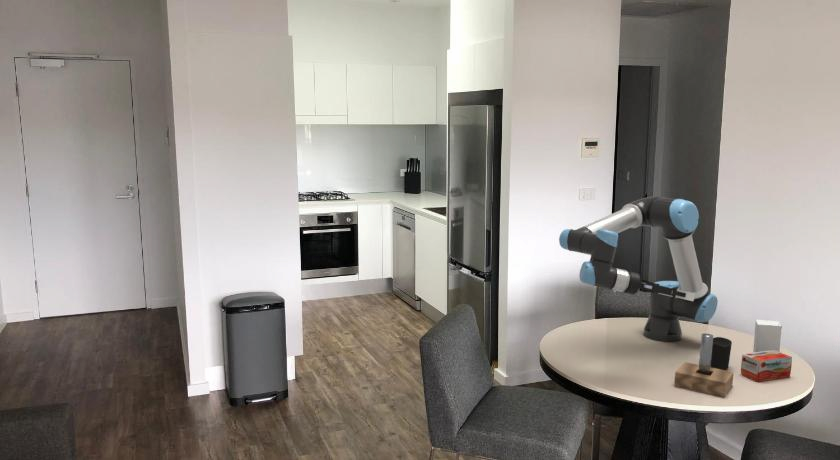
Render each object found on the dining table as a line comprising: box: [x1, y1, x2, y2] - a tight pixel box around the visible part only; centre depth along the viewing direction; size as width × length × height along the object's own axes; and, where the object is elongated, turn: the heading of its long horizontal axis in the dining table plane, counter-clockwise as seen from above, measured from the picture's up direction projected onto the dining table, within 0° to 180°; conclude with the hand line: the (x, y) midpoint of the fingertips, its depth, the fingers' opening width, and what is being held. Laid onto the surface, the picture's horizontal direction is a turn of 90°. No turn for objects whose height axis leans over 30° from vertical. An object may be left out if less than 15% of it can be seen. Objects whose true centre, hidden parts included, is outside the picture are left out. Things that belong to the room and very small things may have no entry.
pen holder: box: [711, 336, 733, 371], centre depth 250 cm, size 9×9×10 cm
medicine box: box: [740, 350, 793, 383], centre depth 242 cm, size 15×8×8 cm, turn 110°
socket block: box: [673, 361, 734, 398], centre depth 232 cm, size 16×12×5 cm
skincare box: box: [752, 319, 783, 353], centre depth 255 cm, size 8×7×16 cm
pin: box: [698, 333, 714, 376], centre depth 231 cm, size 4×4×18 cm
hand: (685, 295), depth 234 cm, fingers open, 13 cm apart
